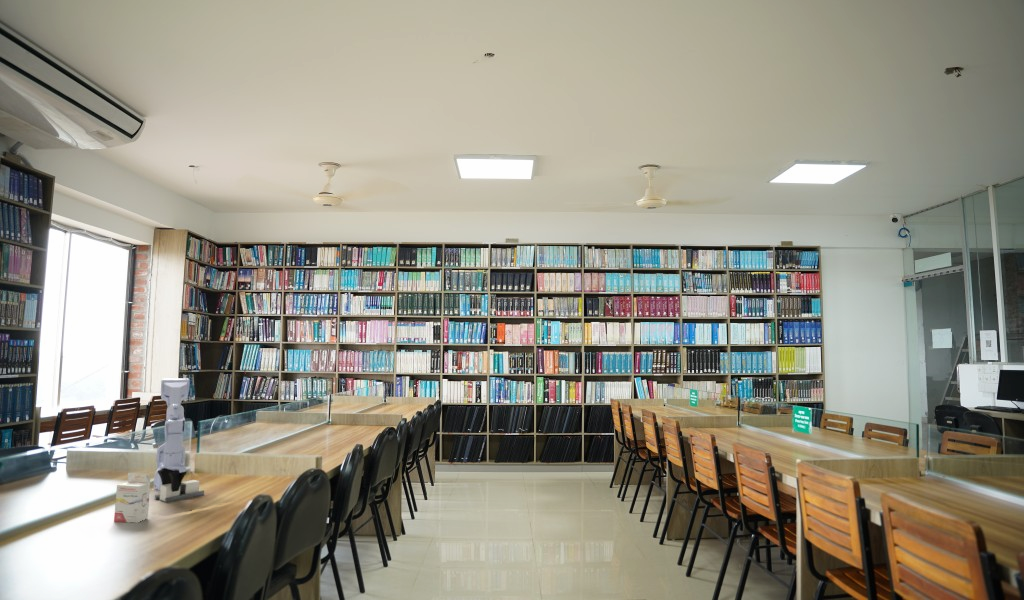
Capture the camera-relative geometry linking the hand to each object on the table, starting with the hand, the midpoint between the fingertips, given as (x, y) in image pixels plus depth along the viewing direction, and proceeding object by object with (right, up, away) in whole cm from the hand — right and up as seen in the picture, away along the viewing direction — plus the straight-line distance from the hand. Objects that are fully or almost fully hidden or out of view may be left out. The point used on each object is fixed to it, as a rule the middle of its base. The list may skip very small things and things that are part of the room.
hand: (170, 490), depth 213 cm
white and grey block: (+4, -4, +6) cm, 8 cm away
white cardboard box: (0, -3, 0) cm, 3 cm away
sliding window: (+2, -5, +3) cm, 5 cm away
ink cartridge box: (+1, -2, -24) cm, 24 cm away
